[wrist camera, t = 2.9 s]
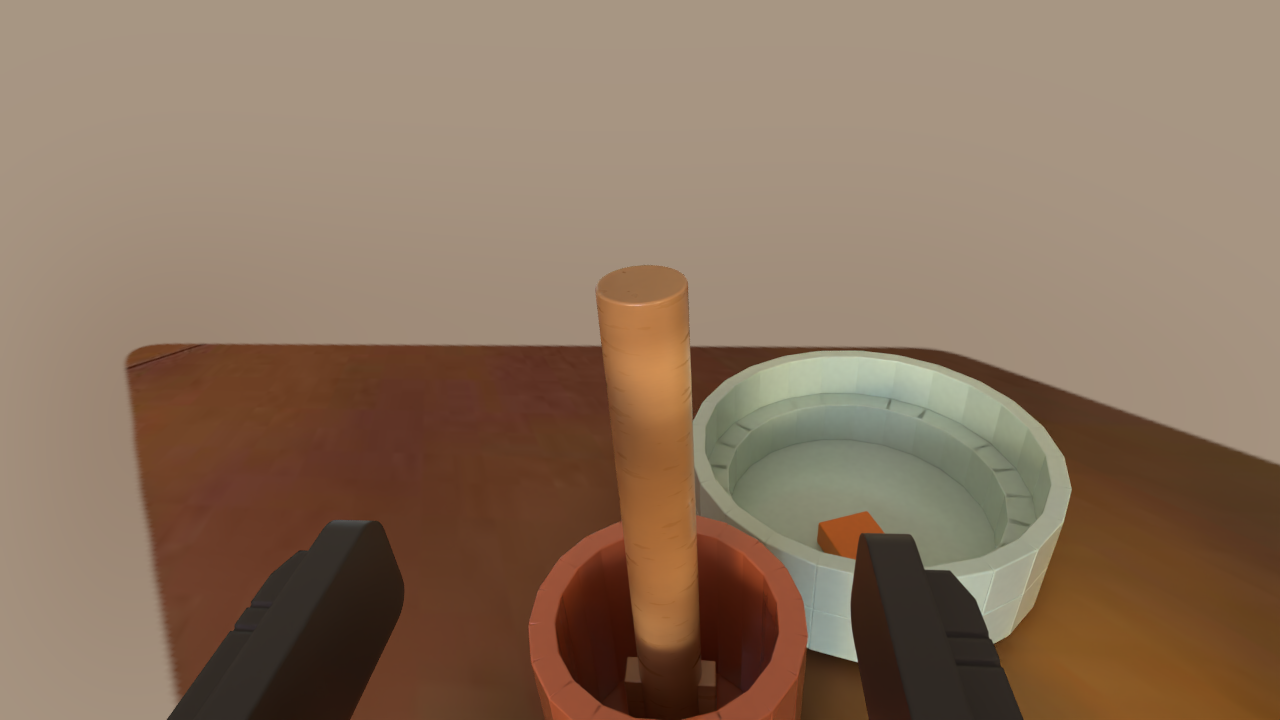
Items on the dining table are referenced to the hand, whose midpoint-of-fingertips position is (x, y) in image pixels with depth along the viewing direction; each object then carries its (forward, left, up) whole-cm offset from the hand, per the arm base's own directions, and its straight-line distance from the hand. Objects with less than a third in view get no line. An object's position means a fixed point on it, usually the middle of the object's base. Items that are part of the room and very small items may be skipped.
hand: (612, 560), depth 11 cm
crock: (0, -7, -19) cm, 20 cm away
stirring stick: (0, -7, -18) cm, 19 cm away
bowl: (-9, -20, -19) cm, 29 cm away
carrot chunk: (-9, -17, -18) cm, 26 cm away
